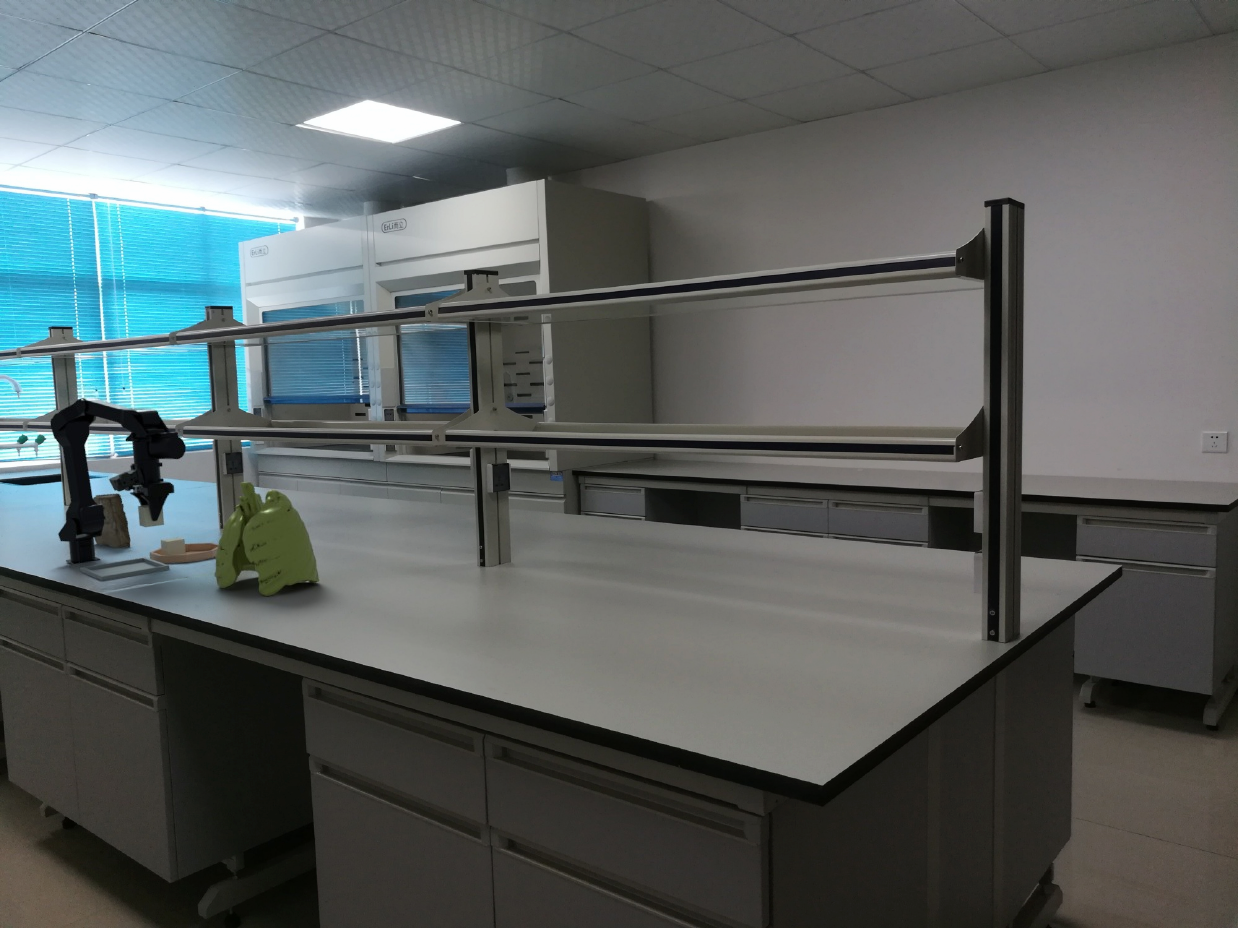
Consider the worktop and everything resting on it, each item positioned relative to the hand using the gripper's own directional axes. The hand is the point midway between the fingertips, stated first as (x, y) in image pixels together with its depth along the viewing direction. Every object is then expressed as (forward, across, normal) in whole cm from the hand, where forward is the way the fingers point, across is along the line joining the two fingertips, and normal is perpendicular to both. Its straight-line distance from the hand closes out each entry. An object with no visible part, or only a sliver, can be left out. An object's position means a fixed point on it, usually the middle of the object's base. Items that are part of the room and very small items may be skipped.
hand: (151, 520), depth 227 cm
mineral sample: (+12, -44, +2) cm, 46 cm away
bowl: (+12, -4, +9) cm, 16 cm away
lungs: (+12, +44, +9) cm, 47 cm away
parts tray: (+12, +1, -8) cm, 14 cm away
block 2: (+11, -4, +6) cm, 13 cm away
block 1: (+1, 0, 0) cm, 1 cm away
